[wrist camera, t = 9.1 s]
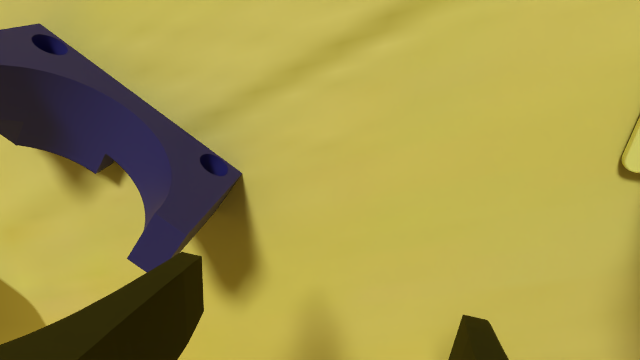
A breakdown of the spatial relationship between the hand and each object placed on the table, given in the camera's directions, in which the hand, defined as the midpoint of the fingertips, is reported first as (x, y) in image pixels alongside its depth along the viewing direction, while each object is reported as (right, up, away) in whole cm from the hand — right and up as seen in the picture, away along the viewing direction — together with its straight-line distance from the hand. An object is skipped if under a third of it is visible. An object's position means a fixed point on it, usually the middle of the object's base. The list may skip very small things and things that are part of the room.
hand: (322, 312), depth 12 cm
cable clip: (-10, +6, +11) cm, 16 cm away
